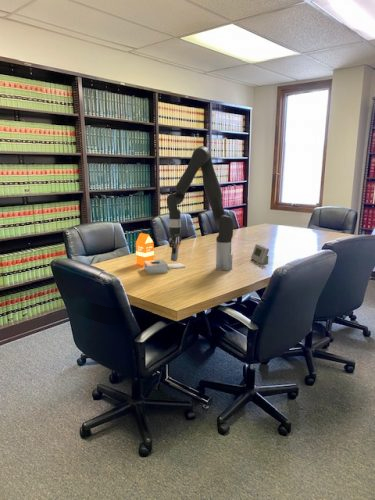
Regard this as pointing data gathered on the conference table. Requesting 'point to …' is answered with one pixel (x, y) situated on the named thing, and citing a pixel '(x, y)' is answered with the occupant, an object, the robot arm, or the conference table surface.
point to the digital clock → (260, 254)
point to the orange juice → (144, 249)
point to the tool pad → (176, 266)
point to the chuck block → (155, 266)
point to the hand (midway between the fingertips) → (175, 252)
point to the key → (174, 256)
